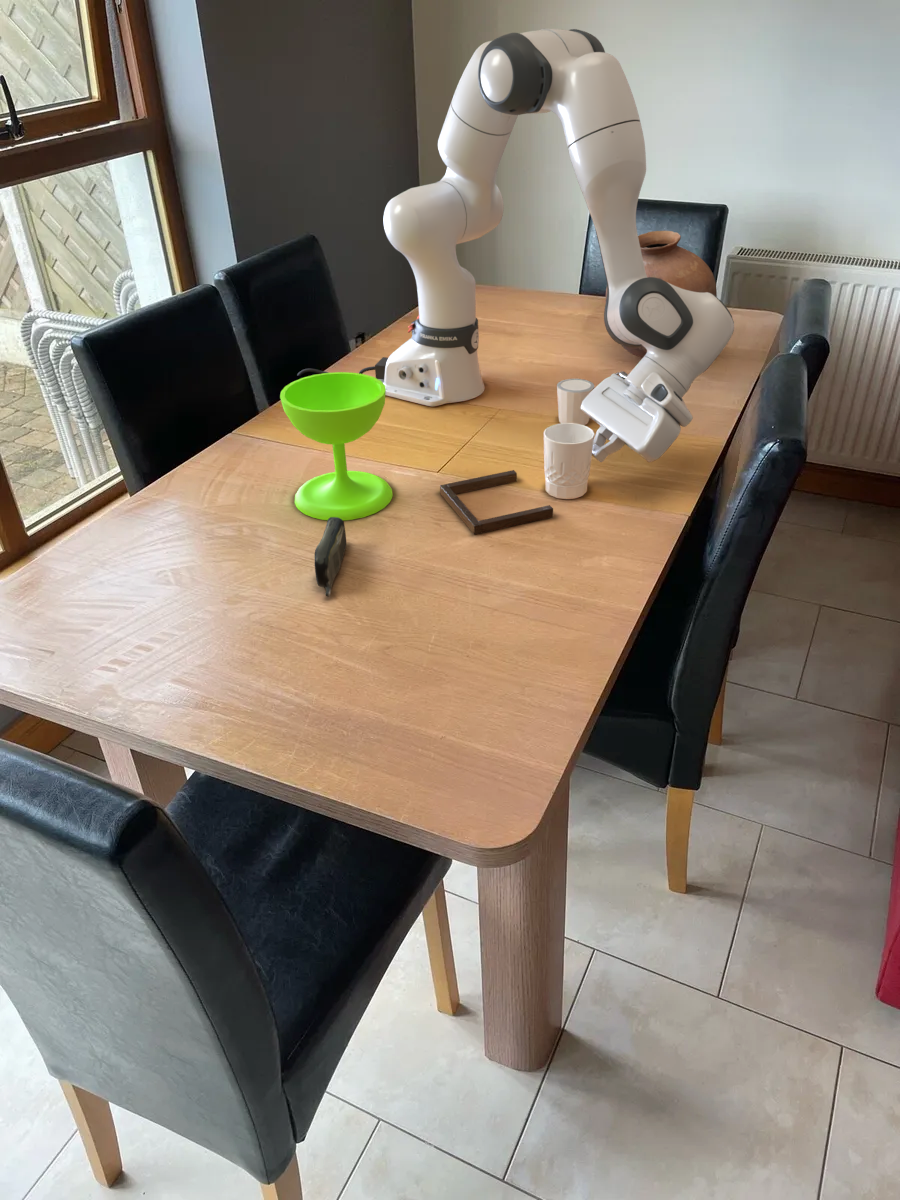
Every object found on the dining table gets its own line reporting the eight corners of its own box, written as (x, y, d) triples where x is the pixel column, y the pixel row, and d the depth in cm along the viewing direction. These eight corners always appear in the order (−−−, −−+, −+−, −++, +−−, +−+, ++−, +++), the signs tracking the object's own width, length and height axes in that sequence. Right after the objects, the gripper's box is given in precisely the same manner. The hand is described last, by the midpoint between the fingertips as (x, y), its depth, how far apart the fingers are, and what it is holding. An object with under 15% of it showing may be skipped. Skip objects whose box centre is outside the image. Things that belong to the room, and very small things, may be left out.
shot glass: (590, 429, 168) (593, 392, 164) (553, 426, 170) (555, 390, 166) (593, 414, 174) (595, 378, 170) (557, 412, 175) (558, 376, 171)
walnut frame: (513, 478, 153) (513, 469, 152) (553, 517, 142) (553, 508, 141) (440, 493, 149) (439, 485, 148) (474, 535, 138) (474, 525, 137)
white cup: (594, 482, 151) (598, 425, 145) (584, 504, 145) (588, 446, 139) (548, 476, 153) (550, 420, 147) (536, 497, 147) (538, 440, 141)
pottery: (722, 346, 202) (740, 227, 188) (685, 380, 187) (701, 253, 172) (626, 331, 213) (636, 217, 199) (583, 362, 197) (590, 240, 183)
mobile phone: (325, 514, 135) (308, 566, 122) (345, 514, 134) (331, 566, 122) (328, 543, 137) (312, 598, 125) (348, 543, 137) (334, 598, 125)
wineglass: (350, 465, 158) (341, 364, 148) (413, 495, 149) (407, 389, 139) (274, 497, 149) (258, 392, 139) (336, 531, 140) (324, 421, 129)
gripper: (608, 356, 151) (552, 422, 154) (677, 400, 135) (614, 472, 138) (629, 378, 155) (574, 442, 158) (699, 423, 139) (637, 493, 142)
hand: (593, 456), depth 148 cm, fingers closed
